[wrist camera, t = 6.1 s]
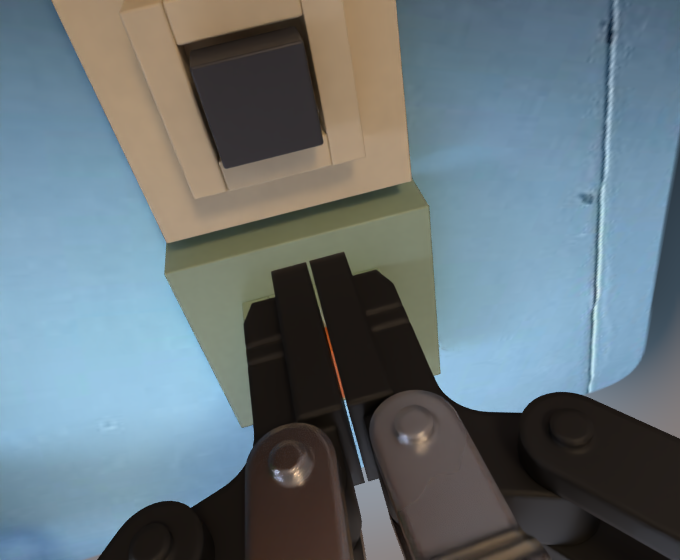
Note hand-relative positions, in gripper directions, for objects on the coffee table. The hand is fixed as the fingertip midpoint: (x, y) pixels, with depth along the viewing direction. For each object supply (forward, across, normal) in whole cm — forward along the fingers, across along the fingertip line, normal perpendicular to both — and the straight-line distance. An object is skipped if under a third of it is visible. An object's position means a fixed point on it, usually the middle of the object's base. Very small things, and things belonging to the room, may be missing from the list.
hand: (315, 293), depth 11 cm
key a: (+9, 0, -1) cm, 9 cm away
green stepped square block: (+12, 0, +11) cm, 16 cm away
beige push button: (+12, 0, -1) cm, 12 cm away
